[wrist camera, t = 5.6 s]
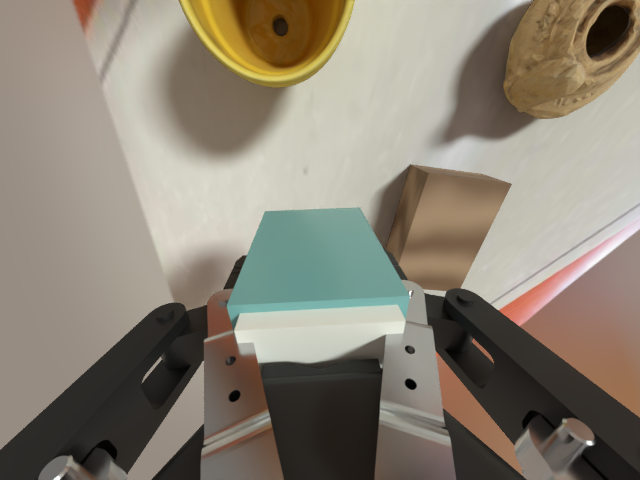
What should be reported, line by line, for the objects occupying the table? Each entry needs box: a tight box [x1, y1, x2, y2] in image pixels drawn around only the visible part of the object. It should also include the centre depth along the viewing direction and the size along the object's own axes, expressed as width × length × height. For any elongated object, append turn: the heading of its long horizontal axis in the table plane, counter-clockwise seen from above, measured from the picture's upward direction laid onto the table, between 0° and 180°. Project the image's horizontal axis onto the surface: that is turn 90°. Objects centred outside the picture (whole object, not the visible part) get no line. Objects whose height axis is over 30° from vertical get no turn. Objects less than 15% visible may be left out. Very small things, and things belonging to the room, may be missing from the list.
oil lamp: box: [503, 0, 640, 119], centre depth 20 cm, size 11×15×8 cm
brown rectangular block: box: [386, 165, 512, 291], centre depth 30 cm, size 14×9×5 cm, turn 172°
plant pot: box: [179, 0, 355, 87], centre depth 17 cm, size 10×10×10 cm
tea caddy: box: [227, 208, 410, 376], centre depth 11 cm, size 5×5×8 cm
